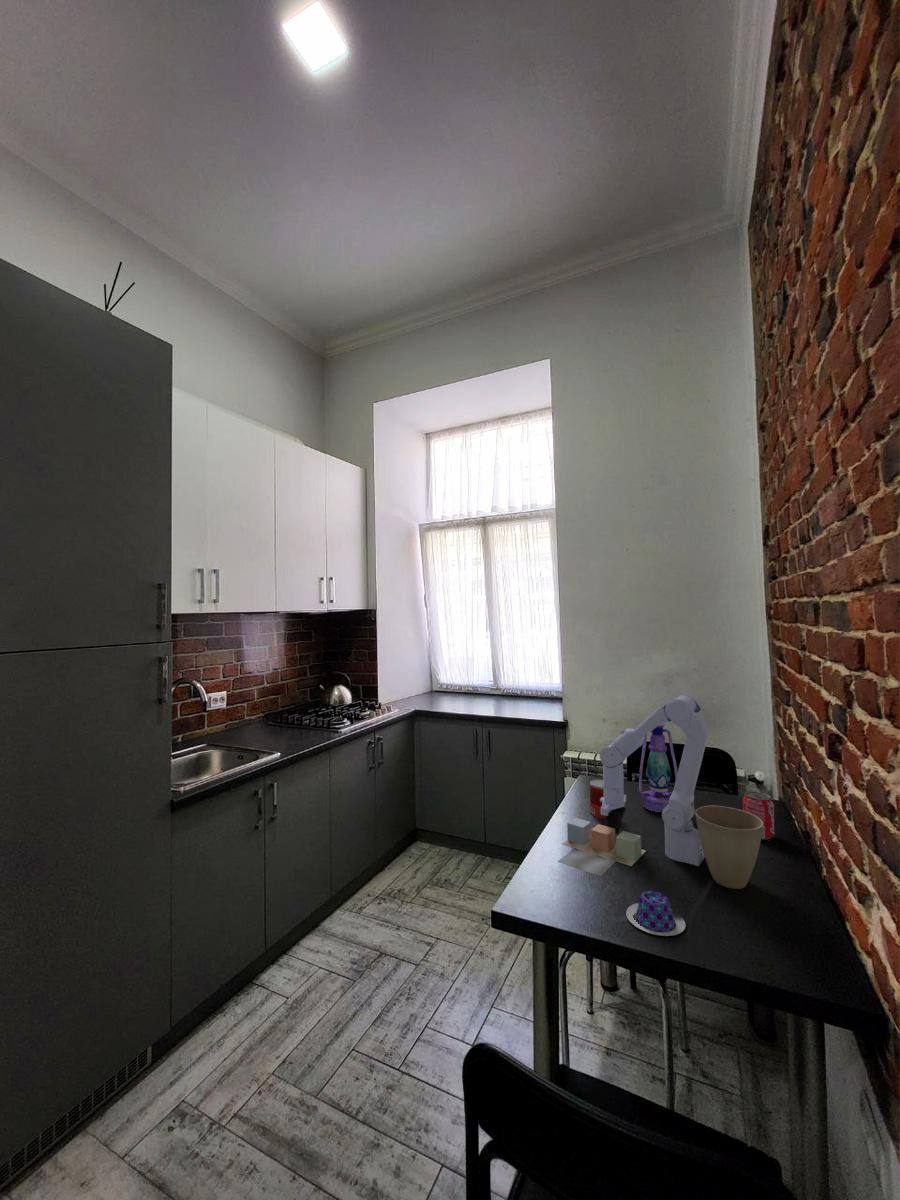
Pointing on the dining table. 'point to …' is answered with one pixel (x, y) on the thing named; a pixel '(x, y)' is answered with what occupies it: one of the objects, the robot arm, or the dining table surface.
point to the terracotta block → (603, 838)
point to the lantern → (657, 770)
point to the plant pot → (729, 843)
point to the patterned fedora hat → (655, 915)
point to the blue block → (579, 831)
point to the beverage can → (761, 811)
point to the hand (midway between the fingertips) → (614, 832)
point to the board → (592, 858)
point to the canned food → (596, 798)
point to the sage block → (628, 845)
